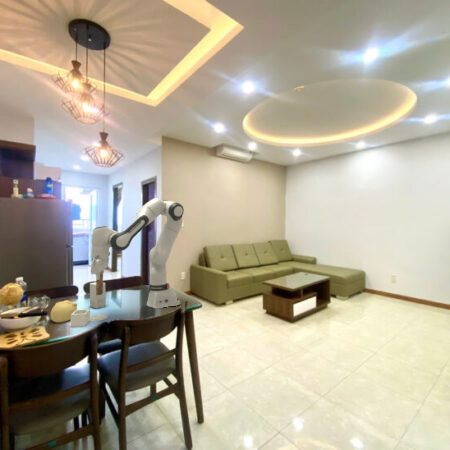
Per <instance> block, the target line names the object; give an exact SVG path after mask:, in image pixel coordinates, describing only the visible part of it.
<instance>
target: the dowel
mask: <svg viewBox="0 0 450 450" xmlns="http://www.w3.org/2000/svg"><path fill="white" fill-rule="evenodd" d="M100 276H101V279H100V280H97V279H95V280H96V281H95V282H96V295H102V294H103V283H104V273H103V271H101V272H100Z"/></svg>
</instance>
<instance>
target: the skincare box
mask: <svg viewBox="0 0 450 450" xmlns="http://www.w3.org/2000/svg"><path fill="white" fill-rule="evenodd" d="M106 295H107V294H106V282H103V294H102V295H96V281H95V282H90V283H89V307H91V308H92V309H93V308H94V309H96V310H97V309H101V308H104V307H106V306H107V305H106V301H107V300H106V299H107V298H106Z"/></svg>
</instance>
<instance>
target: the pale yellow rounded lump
mask: <svg viewBox="0 0 450 450" xmlns="http://www.w3.org/2000/svg"><path fill="white" fill-rule="evenodd" d="M54 304H55V305H54V306H53V307H52V309H51V311H50V319H51V320H52V322H54V323H57V324H58V323H65V322H68V321H71V314H72V313H73V312H74V311H76V310H78V303H77V302H74V301H70V300H69V299H66V300H65V299H64V300H63V301H58V302H56V303H54Z"/></svg>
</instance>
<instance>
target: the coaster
mask: <svg viewBox="0 0 450 450" xmlns="http://www.w3.org/2000/svg"><path fill="white" fill-rule="evenodd" d="M106 319H108V315H107V314H97V315H93V316H90V321H93V322H99V321H103V320H106Z"/></svg>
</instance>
